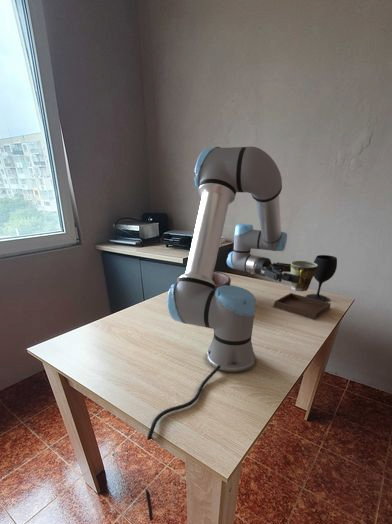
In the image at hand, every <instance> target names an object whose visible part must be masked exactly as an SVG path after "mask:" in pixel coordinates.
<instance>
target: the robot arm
mask: <svg viewBox="0 0 392 524" xmlns="http://www.w3.org/2000/svg"><path fill="white" fill-rule="evenodd" d="M194 174H195V175H194V184H195V187H196V190H197V192H198V195H199V196H200V198H201V200H200V204H199V208H198V213H197V217H196V223H195V227H194V232H193V235H192V240H191V246H190V249H189V254H188V259H187V263H186V269H185V272H184V273H185V274H184V273H182V274H183V275H182V276H180V275H179V276H180V277H179V276H178V277H179V281H178V282H177V283H173V284H172V285H171V286H170V287H169V289H168V292H167V299H166V305H167V310H168V314H169V316H170V317H171V319H172V320H174V321H175V322H179V323H182V324H185V325H192V326H197V327H202V328H208V329H212V330H213V338H212V340H211V342H210V345H209V348H208V350H207V353H206V355H207V357H206V361H207V362H208V364H209V365H210V366H211V367H212V368H213V370H212V371H211V372H210V373H209V374H208V375H207V376H206V377H205V378H204V380H203V381H202V382H201V384H200V385H199V387H198V390H197V391H196V394H195V396H194V397H193V398H192V399H190V400H189V401H187V402H185V403H183V404H180V405H176V406H172V407H169V408H167V409H164V410H163V411H161V412H160V413H158V414H157V415H156V416H155V418H154V419H153V421H152V423H151V425H150V428H149V431H148V434H147V437H146V440H147V441H151V439H152V437H153V435H154V431H155V428H156V425H157V424H158V423H157V422H158V421H159V420H160V419H161V418H162V417H164V416H165V415H166V414H169V413H172V412H175V411H179V410H182V409H186V408H188V407H189V406H191V405H193V404H194V403H196V401H197V400H199V398H200V396H201V393H202V391H203V389H204V387H205V385H206V384H207V383H208V381H209V380H210V379H212V377H213V376H214V375H215V374H216V373H217V372H218V371H221V372H225V373H242V372H245V371H248V370H249V369H251V368H252V367H253V366H254V364H255V359H256V356H255V351H254V348H253V342H252V336H253V328H254V320H255V314H256V296H255V295H254V294H253V293H252V292H251V291H250V290H248V289H246V288H244V287H241V286H237V285H233V284H230V285H229V286H227V285H223V286H220V287H218V288H217V289H216V290H215V283H214V282H213V280H212V277H213V272H215V268H216V264H217V258H218V254H219V250H220V245H221V240H222V236H223V232H224V227H225V222H226V218H227V213H228V208H229V205H230V204H232V203H234V201H235V200H236V195H237V193H248V194H251V197H252V199H253V200H254V201H255V203H256V210H257V215H258V220H259V221H258V222H259V226H260V229H254V225H253V224H250V223H237V224H236V225H235V229H234V235H233V250H232V251H230V252H229V253H228V255H227V258H226V264H227V266H228V268H230V269H233V270H235V271H241V272H246V273H249V274H251V275H257V276H261V277H268V278H270V279H271V280H274V281H276V282H277V281H278V282H279V283H281V282H282V281H284V282H285V281H286V282H288V283H291V282H293V283H297V284H298V283H299V279H300V276H297V275H293V274H291V263H284V262H273V263H272V260H271V258H269V257H264V256H260V255H255V254H251V250H252V249H253V250H262V251H264V250H265V251H272V252H283V251H285V249H286V246H287V242H288V233H286V232H284V231H282V226H281V224H282V223H281V207H280V206H281V205H280V204H281V203H280V195H281V193H282V190H283V179H282V175H281V171H280V169H279V167H278V165H277V163H276V161H274V159H273V158H272V157H271V156H270V154H268V153H267V152H266V151H265V150H263V149H262V148H259V147H256V146H234V147H232V146H230V147H221V146H215V147H209V148H208V147H207V148H205V149H204V150H202V151H201V153H199V156H198V157H197V160H196V163H195V167H194ZM144 490H145V496H146V502H147V510H148V517H149V521H150V522H152V521H153V520H154V514H153V507H152V500H151V492H149V490H148V489H147V488H145V489H144Z"/></svg>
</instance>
